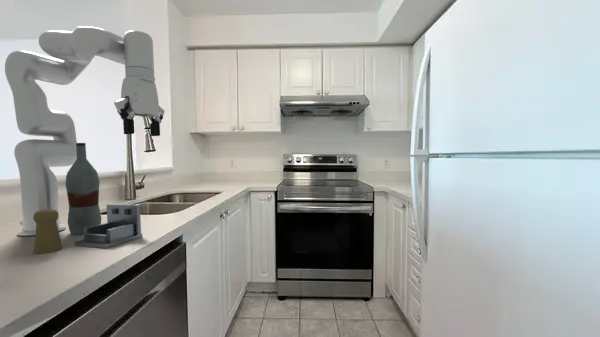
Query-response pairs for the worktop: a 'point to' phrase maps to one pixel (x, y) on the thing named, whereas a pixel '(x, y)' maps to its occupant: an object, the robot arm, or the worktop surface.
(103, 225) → the clip bracket
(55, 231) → the cork
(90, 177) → the bottle
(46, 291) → the worktop surface
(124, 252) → the worktop surface
